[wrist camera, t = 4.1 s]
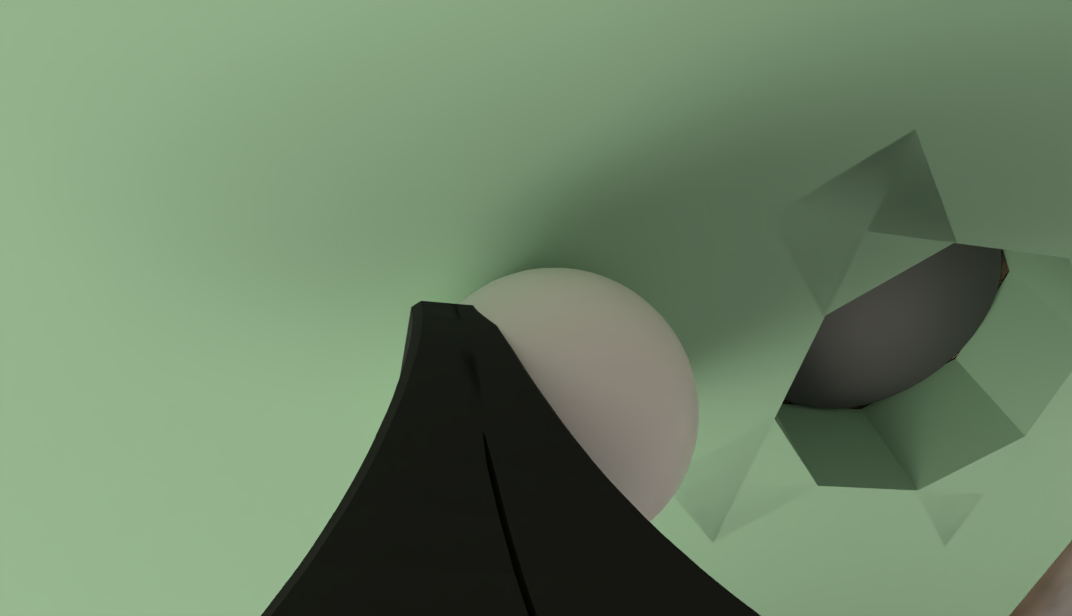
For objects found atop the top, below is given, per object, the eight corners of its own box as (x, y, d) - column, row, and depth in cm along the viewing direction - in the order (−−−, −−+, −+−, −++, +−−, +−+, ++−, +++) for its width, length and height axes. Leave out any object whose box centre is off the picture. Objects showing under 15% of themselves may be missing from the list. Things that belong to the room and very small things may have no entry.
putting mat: (933, 562, 23) (986, 643, 21) (-59, 541, 17) (-117, 650, 15) (1362, -39, 15) (1520, 0, 13) (-302, -493, 9) (-504, -555, 7)
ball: (363, 562, 12) (465, 377, 15) (636, 657, 11) (686, 443, 14) (351, 359, 9) (478, 184, 12) (705, 466, 9) (747, 254, 12)
